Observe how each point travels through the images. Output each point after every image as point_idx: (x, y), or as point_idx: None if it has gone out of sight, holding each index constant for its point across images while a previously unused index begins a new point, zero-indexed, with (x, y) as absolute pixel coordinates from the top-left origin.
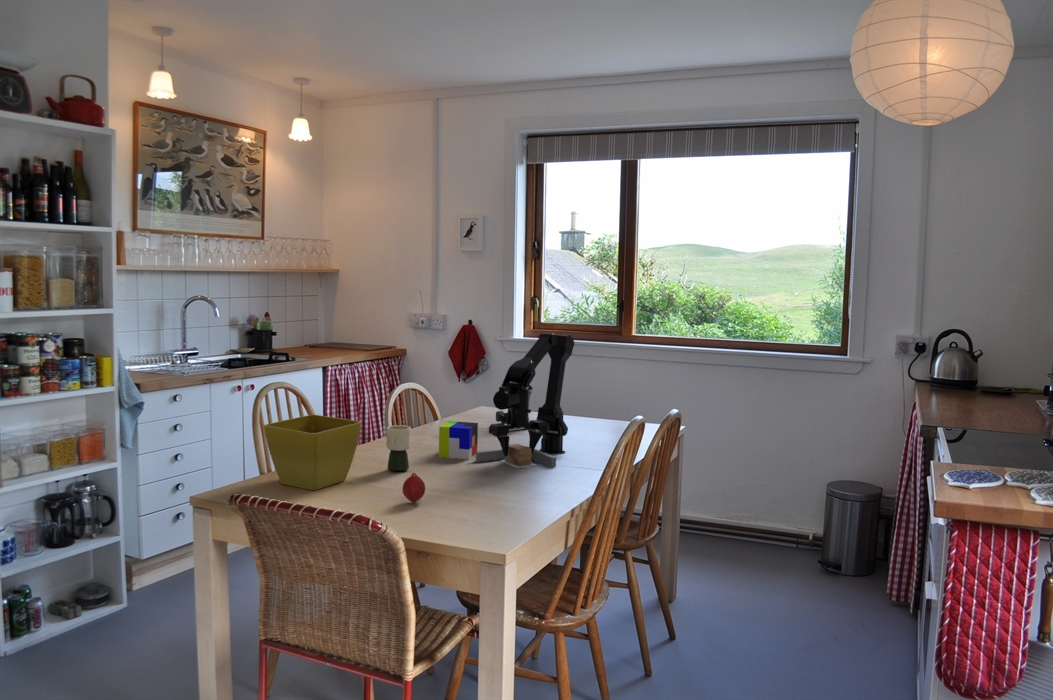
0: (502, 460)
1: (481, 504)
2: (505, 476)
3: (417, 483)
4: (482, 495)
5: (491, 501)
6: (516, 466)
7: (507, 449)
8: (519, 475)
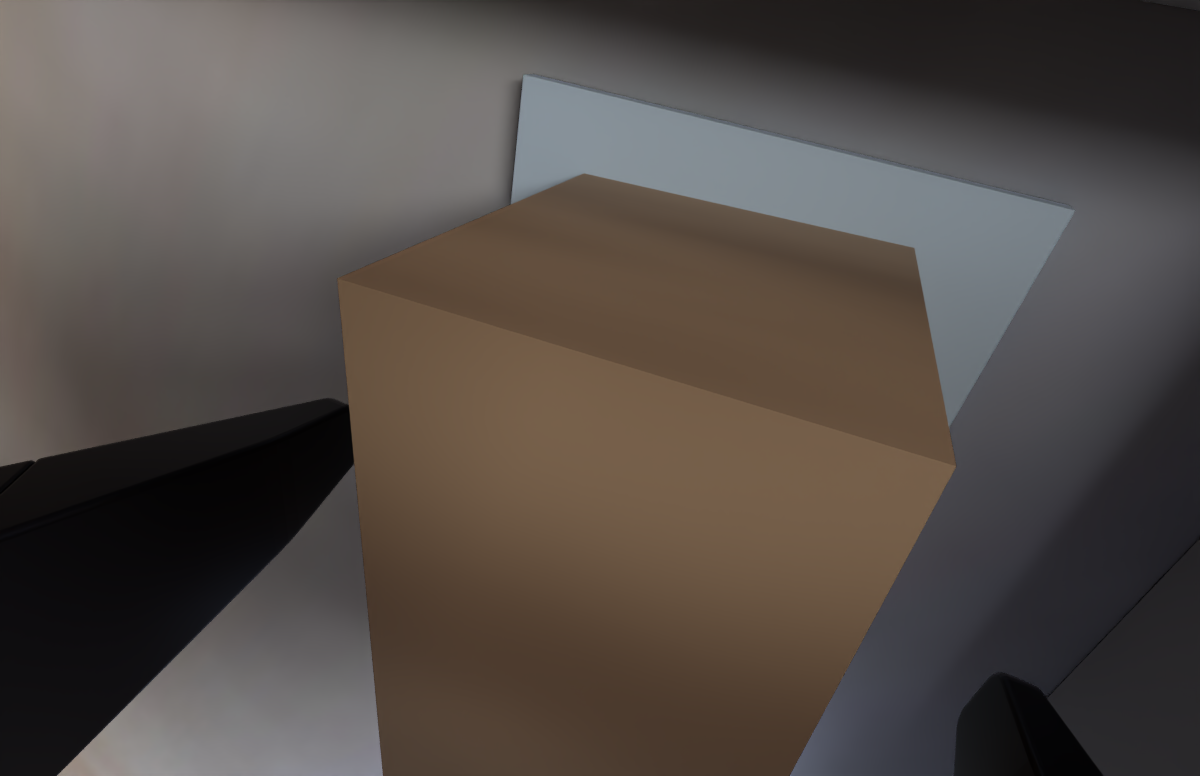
0: (554, 115)
1: None
2: (248, 603)
3: None
4: None
5: None
6: None
7: (209, 599)
8: (365, 680)
